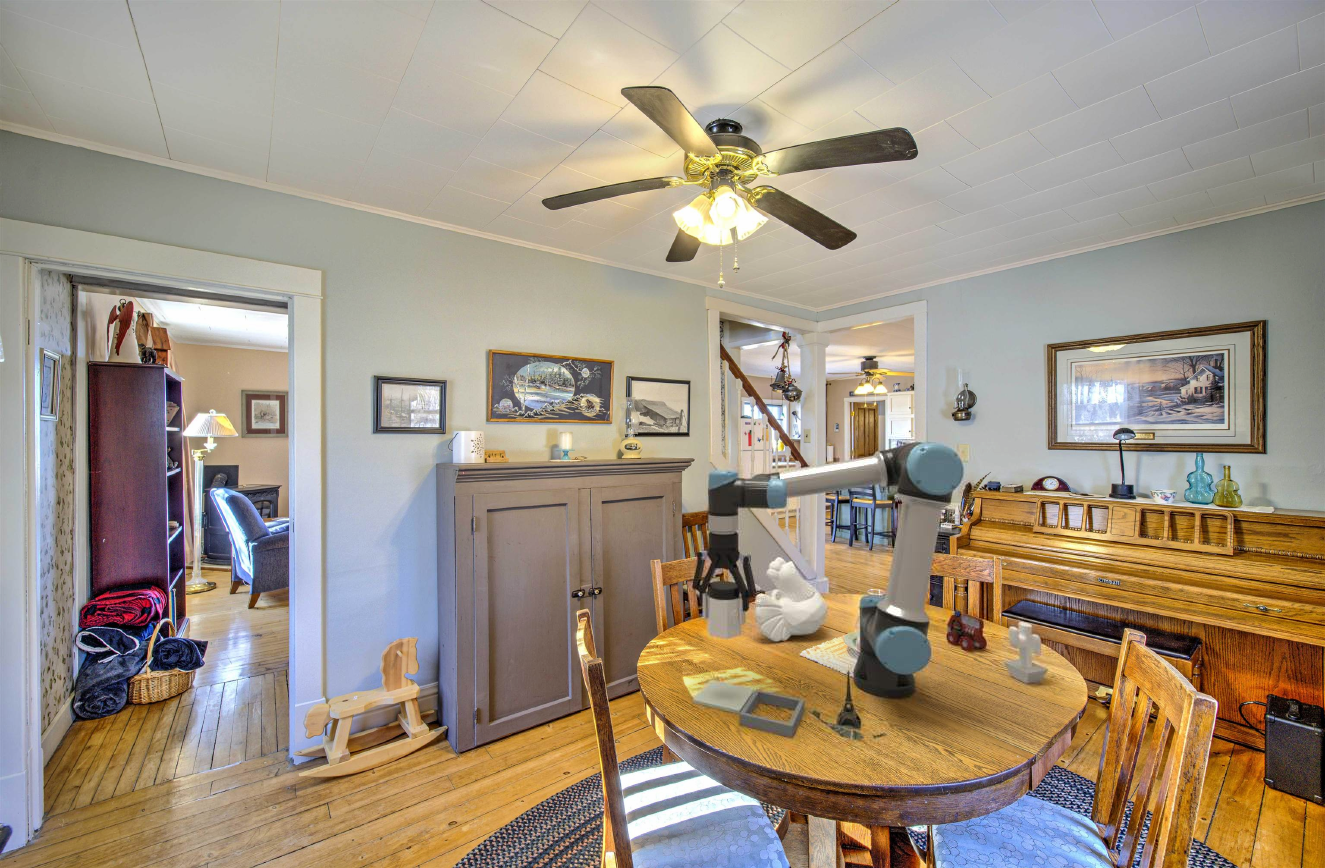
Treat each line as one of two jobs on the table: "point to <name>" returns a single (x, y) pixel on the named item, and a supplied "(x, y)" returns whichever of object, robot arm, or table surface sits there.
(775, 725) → the pocket
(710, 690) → the coaster
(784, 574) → the decorative rooster
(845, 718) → the eiffel tower figurine
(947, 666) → the table surface
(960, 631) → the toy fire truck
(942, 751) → the table surface
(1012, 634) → the figurine
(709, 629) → the jar
